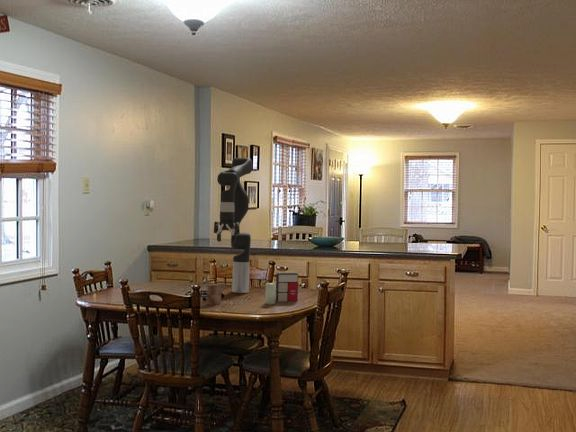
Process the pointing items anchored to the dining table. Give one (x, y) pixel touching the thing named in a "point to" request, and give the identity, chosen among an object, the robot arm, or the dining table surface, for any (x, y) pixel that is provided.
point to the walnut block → (214, 294)
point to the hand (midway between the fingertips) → (226, 242)
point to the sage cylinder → (270, 293)
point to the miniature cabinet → (286, 287)
